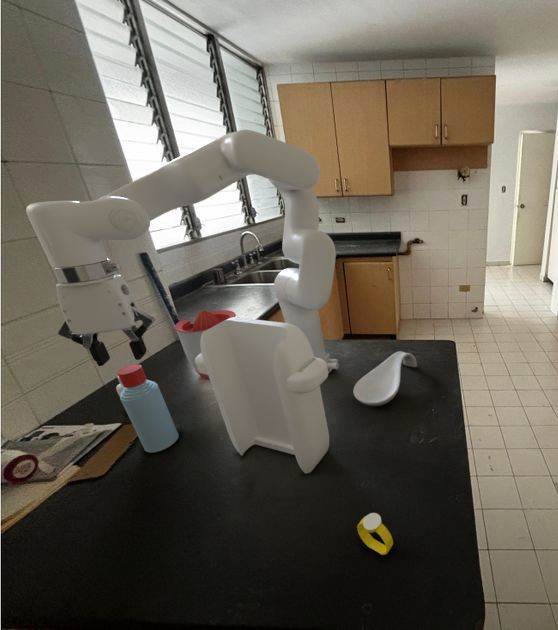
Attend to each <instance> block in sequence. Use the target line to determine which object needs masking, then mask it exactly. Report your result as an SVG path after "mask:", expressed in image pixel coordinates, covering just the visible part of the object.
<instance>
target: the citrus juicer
mask: <svg viewBox="0 0 558 630" xmlns="http://www.w3.org/2000/svg"><path fill="white" fill-rule="evenodd" d="M236 314H237V313H236V312H234V311H233V310H229V309H228V310H227V309H218V310H209V311H207V310H205V309H203V310H201V311H200V312H199V313H198V315H197V316H196V317H195V320H194V321H193V323H192V322H191V320H189V319H187V318H184V319H181V320H180V321H178V322H177V323H176V324H175V325H174V330H175V331H176V333H177V335H178V338H179V341H180V343H181V346H182V348H183V352H184V355H185V357H186V359H187V361H188V363H189V364H190V366H191V367H192V368H193V370H194V371H195V372H196V373H197V375H199V376H200V377H201V378H203V379H209V376H208V375H205V374H202V373H200V372H199V371H198V369H197V366H196V363H195V359H196V357H197V356H198V355H199V354H200V353H201V347H200V339H201V335H202V333H203V332H204V331H205V330H208V329H210V328H212V327H213V326H215V325H217V324H219V323H221V322H223V321H225V320H227V319H229V318H232V317H237V316H236ZM209 380H210V379H209Z"/></svg>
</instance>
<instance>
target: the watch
mask: <svg viewBox="0 0 558 630" xmlns="http://www.w3.org/2000/svg"><path fill="white" fill-rule="evenodd" d="M356 528H357V533H358V535H359V537H360V539H361V540H362V542H363V543H364V544H365V545H366V547H368V548H369V549H371V550H373V551H375V552H376V553H378V554H379V555H381V556H385V555H386V556H387V555H388V554H389V552H390V550H391V549H392V548H393V545H394V540H393V536H392V533H390V531H389V530H388V528H387V526H385V525H384V524H383V522H382V517H381V515H380V514H379V513H377V512H369V513H368V514H367V515H364V516H363V518H361V520H360V521H359V523H358V524H357V526H356ZM372 533H373V534H374V533H376V534H377V535H379V536H380V538H381V539H382V541H383V543H382V542H381V541H378V540H377V539H375V538H374V537H373V536H372V535H371V534H372Z"/></svg>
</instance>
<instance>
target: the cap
mask: <svg viewBox="0 0 558 630" xmlns="http://www.w3.org/2000/svg"><path fill="white" fill-rule="evenodd" d="M118 376H119V378H120V380H121V382H122V384H123V386H124V387H125V388H130V387H135V386H138V385H140V384H142V383H143V382H145V381H146V380H148V379H147V376H146V373H145V371H144V369H143V366H142V365H141V364H130V365H127V366H124V367H122V368H121V369H119V370H118V371H117V377H118Z"/></svg>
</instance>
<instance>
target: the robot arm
mask: <svg viewBox="0 0 558 630" xmlns="http://www.w3.org/2000/svg"><path fill="white" fill-rule="evenodd" d="M321 172H322V171H321V166H320V163H319V162H318V160H317V159H316V157H315V156H314V155H313V154H311V152H309V151H307V150H305V149H303V148H302V147H298V146H296V145H293V144H290V143H287V142H285V141H282V140H280V139H277V138H274V137H272V136H269V135H267V134H264V133H261V132H258V131H255V130H251V129H239V130H236V131H233V132H229V133H227V134H223V135H222V136H220V137H217V138H215V139H213V140H211V141H209V142H208V143H205V144H203V145H201V146H199V147H197V148H195V149H193V150H191V151H189V152H187V153H185V154H183V155H180V156H178V157H177V158H174V159H173V160H171V161H169V162H167V163H165V164H163V165H161V166H159V167H158V168H156V169H155V170H153V171H151V172H150V173H147V174H146V175H144V176H141V177H139V178H138V179H135V180H134V181H133V180H132V181H131V182H129V183H127V184H124V185H123V186H121V187H119V188H117V189H116V190H113V191H111V192H109V193H107V194H104V195H103V196H100V197H99V198H97V199H96V200H95V199H94V200H87V201H79V200H78V201H77V200H52V201H51V200H50V201H39V202H33V203H30V204H28V205H27V206H26V208H25V213H26V215H27V218H28V220H29V222H30V224H31V227H32V229H33V231H34V234H35V235H36V237H37V239H38V241H39V243H40V245H41V248H42V250H43V252H44V254H45V257H46V258H47V261H48V263H49V265H50V267H51V269H52V271H53V274H54V276H55V277H56V279H57V282H58V283H57V284H55V290H56V296H57V300H58V304H59V307H60V311H61V313H62V316H63V318H64V320H65V321H64V322H63V323H62V325H61V327H60V328H59V330H58V332H57V334H58V336H61V337H63V338H66V339H68V340H71V341H72V342H73V343H76V344H78V345H81V346H82V347H83V348H84V349H87V350H88V351H89V353H90V355H91V357H92V359H93V361H95V362H96V364H97V366H98V367H103V366H104V365H105V364H106V363H108V362H109V360H110V359H111V356H110V354H109V351H108V349H107V347H106V345H105V343H104V341H100V340H99V338H100V337H99V336H100V335H99V334H102V333H109V332H116V331H122V332H123V333H124V334H125V335H126V337H127V338H128V339H129V340H130V341H129V343H128V344H129V345H128V346H129V348H130V350H131V352H132V355H133V357H134V359H135V360H136V361H140V360H142V358H143V357H144V356H145V355H146V353H147V347H146V344H145V342H144V339H143V336H144V335H145V333H146V332H147V331H148V329H149V328H151V326H152V325H153V324H154V322H155V321H156V318H155V317H154V316H152V315H151V314H149V313H147V312H145V311H143V310H142V309H141V307H140V306H139V302H138V300H137V299H136V297H135V295H134V293H133V292H132V290H131V288H130V286H129V285H128V283H127V282H126V280H125V279H124V278H123V277H122V275H121V274H116V272H119V271H121V269H122V268H121V265H120V263H114V262H112V261H111V259H109V258H108V254H107V252H106V250H105V247H104V244H103V242H102V241H130V240H136V239H138V238H140V237H142V236H143V235H146V233H147V232H148V231H149V228H150V226H151V221H153V220H155V219H157V218H158V217H161V216H162V215H164V214H167V213H169V212H171V211H174V210H177V209H179V208H182V207H186V206H191V205H195V204H198V203H200V202H203V201H206V200H207V199H209V198H211V197H213V196H214V195H216V194H217V193H219V192H221V191H223V190H224V189H226V188H228V187H230V186H231V185H233V184H235V183H237V182H238V181H240V180H242V179H243V178H246V177H248V176H253V175H256V176H259V177H262V178H264V179H268V181H269V182H270V184H272V185H273V187H275V189H276V190H277V191H278V192H279V194H280V196H281V198H282V200H283V203H284V224H283V236H282V246H281V249H282V254H283V255H284V257H285V259H287V261H290V262H292V263H293V264H298V265H299V267H298V268H297V267H287V268H285V269H282V270H281V271H280V272H278V274H277V275H276V277H275V278H274V282H273V289H274V293H275V297H276V299H277V302H278V304H279V307H280V310H281V313H282V316H283V321H284V323H288V324H292V325H295V326H296V327H298V328H299V329H300V330H301V331H302V332H303V333H304V334H305V336H306V337H307V339H308V341H309V343H310V346H311V348H312V351H313V355H314V357H316V358H320V359H322V360H324V361H325V362H326V364H327V368H328V374H330V373H331V372H332V371H333V370H339V368H340V364H339V359H338V358H332V357H331V356H330V353H328V352H326V346H325V340H324V335H323V329H322V323H321V317H320V313H319V310H321V309H323V308H324V307H325V306H327V304H328V302H329V300H330V297H331V295H332V290H333V284H334V275H335V267H336V257H337V255H336V254H337V251H336V246H335V243H334V240H333V239H332V238H331V237H330V236H329V234H327V233H326V232H324V231H322V230H319V226H320V224H319V223H320V205H319V200H318V198H317V195H316V193H315V191H314V189H313V188H314V187H315V186H317V184H318V183H319V182H320V179H321V175H322V173H321ZM139 321H141V322H142V323H141V324H140V325H139V326H138V324H136V323H137V322H139Z"/></svg>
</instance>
